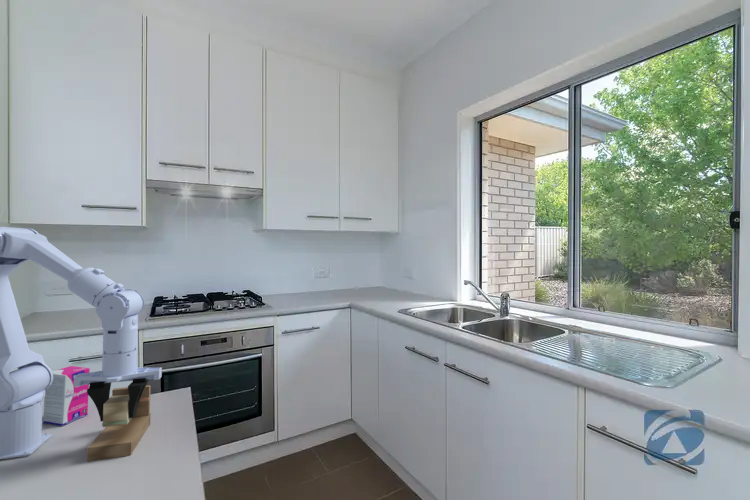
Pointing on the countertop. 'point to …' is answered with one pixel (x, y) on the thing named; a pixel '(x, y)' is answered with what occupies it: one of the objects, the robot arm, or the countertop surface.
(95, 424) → the countertop surface
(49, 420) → the supplement box
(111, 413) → the green-banded taupe cube
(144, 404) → the walnut base
